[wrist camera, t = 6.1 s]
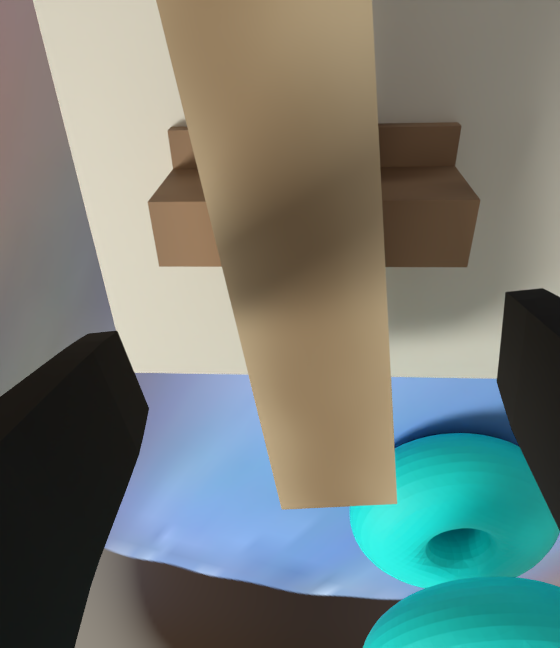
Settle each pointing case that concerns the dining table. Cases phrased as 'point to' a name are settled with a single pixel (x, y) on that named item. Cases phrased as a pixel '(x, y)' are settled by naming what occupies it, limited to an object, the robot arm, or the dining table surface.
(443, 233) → the block
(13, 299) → the dining table surface
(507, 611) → the donuts
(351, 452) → the bar
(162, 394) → the dining table surface
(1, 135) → the dining table surface
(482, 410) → the dining table surface
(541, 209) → the board
